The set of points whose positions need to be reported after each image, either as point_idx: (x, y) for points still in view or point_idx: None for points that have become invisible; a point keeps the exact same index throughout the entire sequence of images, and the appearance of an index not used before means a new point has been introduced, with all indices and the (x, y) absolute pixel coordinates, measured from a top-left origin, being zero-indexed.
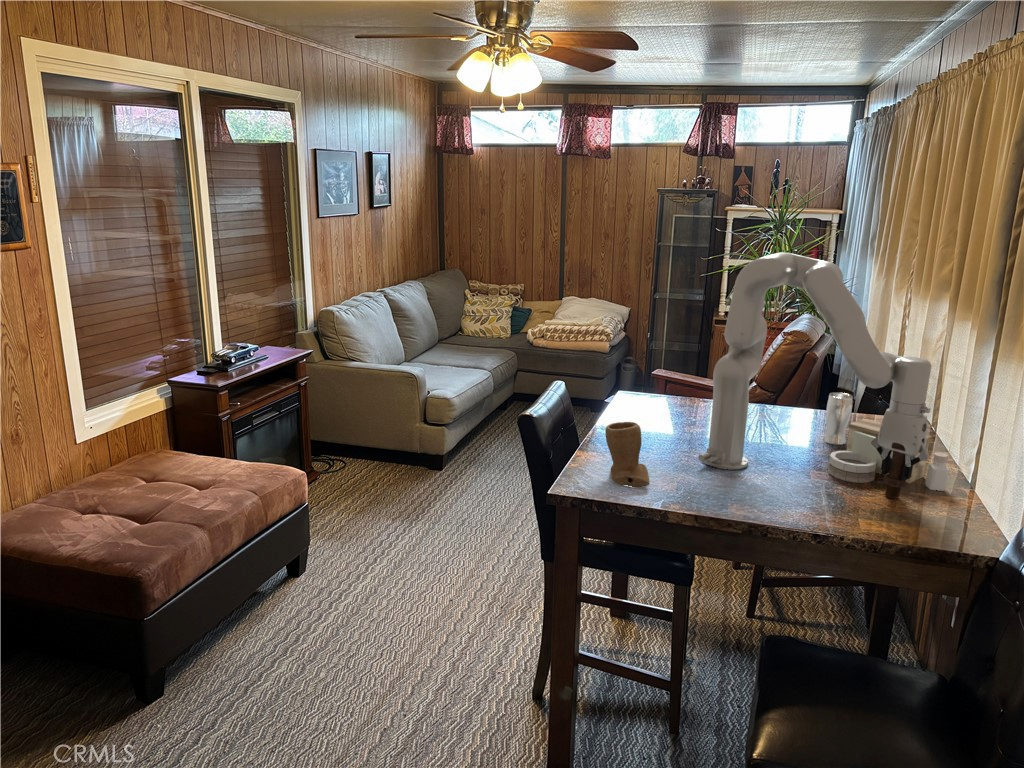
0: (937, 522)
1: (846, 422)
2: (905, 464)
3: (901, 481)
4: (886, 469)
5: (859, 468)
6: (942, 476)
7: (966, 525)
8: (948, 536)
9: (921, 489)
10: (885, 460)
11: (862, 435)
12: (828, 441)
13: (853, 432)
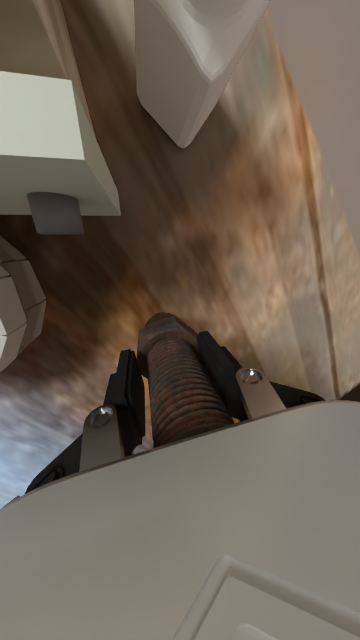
0: (286, 347)
1: None
2: (229, 409)
3: (199, 360)
4: (142, 393)
5: (6, 361)
6: (232, 68)
7: (327, 306)
8: (315, 375)
9: (160, 174)
10: (140, 444)
11: None
12: None
13: None
